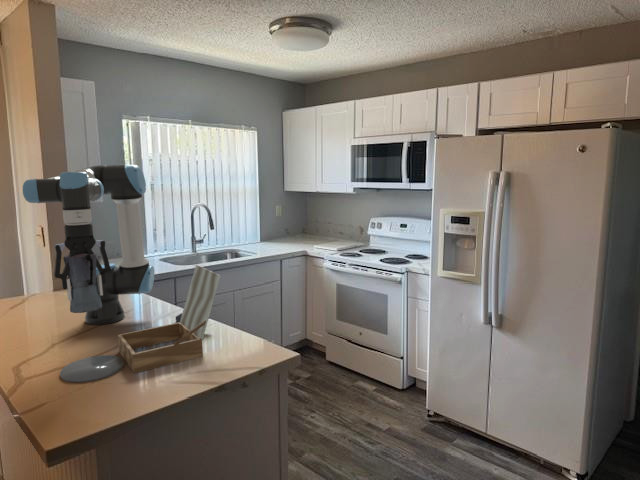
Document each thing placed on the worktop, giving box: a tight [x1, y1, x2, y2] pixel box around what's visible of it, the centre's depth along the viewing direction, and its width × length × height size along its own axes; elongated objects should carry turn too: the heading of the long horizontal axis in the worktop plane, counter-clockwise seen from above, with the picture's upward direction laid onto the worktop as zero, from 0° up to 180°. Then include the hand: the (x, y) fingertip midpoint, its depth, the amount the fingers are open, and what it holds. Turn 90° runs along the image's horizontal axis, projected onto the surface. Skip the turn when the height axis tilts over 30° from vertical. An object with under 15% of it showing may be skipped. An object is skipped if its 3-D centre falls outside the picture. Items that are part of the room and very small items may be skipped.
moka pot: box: [62, 252, 102, 314], centre depth 142 cm, size 10×15×20 cm, turn 51°
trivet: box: [59, 354, 125, 383], centre depth 146 cm, size 18×18×1 cm
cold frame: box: [117, 264, 222, 374], centre depth 158 cm, size 22×30×27 cm
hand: (85, 296), depth 143 cm, fingers closed on moka pot, 8 cm apart
